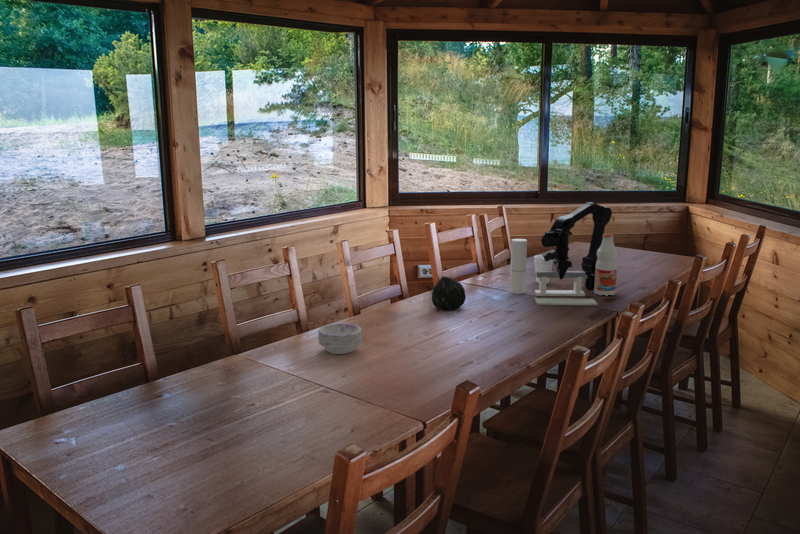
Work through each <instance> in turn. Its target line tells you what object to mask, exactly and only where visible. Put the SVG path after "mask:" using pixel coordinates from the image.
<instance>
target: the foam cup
mask: <svg viewBox="0 0 800 534" xmlns="http://www.w3.org/2000/svg"><path fill="white" fill-rule="evenodd" d="M553 261H554V259H553V260H552V259H551V260H549V261H545V260H544V258H543V255H542V254H536V255H534V256H533V262H534V270H535V273H536V271H552V268H553V264H554V263H553ZM550 279H551V278H547V283H546V284H549V283H550V281H551V280H550ZM535 281H536V283H537V282H538V283H537V284H539V278H537V277H536V276H535Z"/></svg>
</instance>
